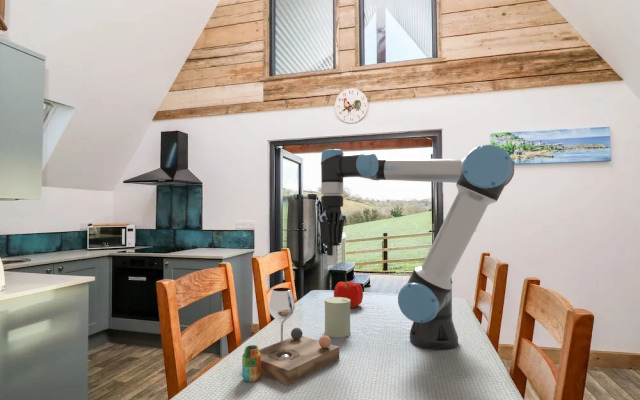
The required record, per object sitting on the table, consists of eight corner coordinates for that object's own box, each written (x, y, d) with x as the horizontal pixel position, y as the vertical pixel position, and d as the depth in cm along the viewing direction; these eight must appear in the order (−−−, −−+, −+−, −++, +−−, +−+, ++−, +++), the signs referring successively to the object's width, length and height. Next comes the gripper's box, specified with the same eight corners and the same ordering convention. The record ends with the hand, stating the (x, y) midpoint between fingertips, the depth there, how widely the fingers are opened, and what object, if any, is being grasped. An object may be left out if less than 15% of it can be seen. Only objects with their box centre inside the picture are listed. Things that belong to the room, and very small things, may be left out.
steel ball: (290, 371, 101) (295, 358, 103) (283, 366, 99) (289, 353, 101) (281, 368, 104) (286, 356, 105) (274, 363, 102) (279, 350, 103)
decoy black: (304, 339, 114) (304, 327, 114) (297, 342, 112) (297, 330, 112) (296, 336, 117) (296, 325, 117) (288, 339, 114) (288, 328, 114)
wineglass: (270, 353, 112) (270, 292, 113) (266, 344, 120) (267, 287, 121) (297, 350, 115) (297, 291, 115) (291, 341, 123) (292, 286, 123)
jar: (261, 375, 98) (262, 344, 98) (259, 383, 93) (259, 350, 93) (243, 375, 98) (244, 344, 98) (240, 383, 93) (240, 350, 93)
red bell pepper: (329, 303, 173) (329, 280, 174) (356, 301, 177) (356, 279, 178) (339, 311, 160) (340, 286, 161) (368, 308, 164) (368, 284, 165)
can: (348, 338, 126) (348, 302, 126) (321, 336, 128) (322, 301, 128) (352, 329, 135) (352, 296, 135) (326, 328, 137) (326, 295, 137)
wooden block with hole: (339, 359, 108) (339, 346, 108) (288, 385, 92) (288, 370, 92) (298, 346, 118) (298, 334, 118) (245, 368, 102) (246, 354, 102)
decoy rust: (333, 347, 107) (333, 335, 107) (326, 351, 105) (326, 338, 105) (324, 344, 110) (324, 332, 110) (316, 348, 107) (316, 335, 107)
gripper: (334, 196, 136) (334, 261, 135) (311, 195, 125) (311, 266, 125) (352, 195, 131) (352, 263, 130) (329, 194, 121) (329, 268, 120)
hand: (332, 264), depth 127 cm, fingers closed
